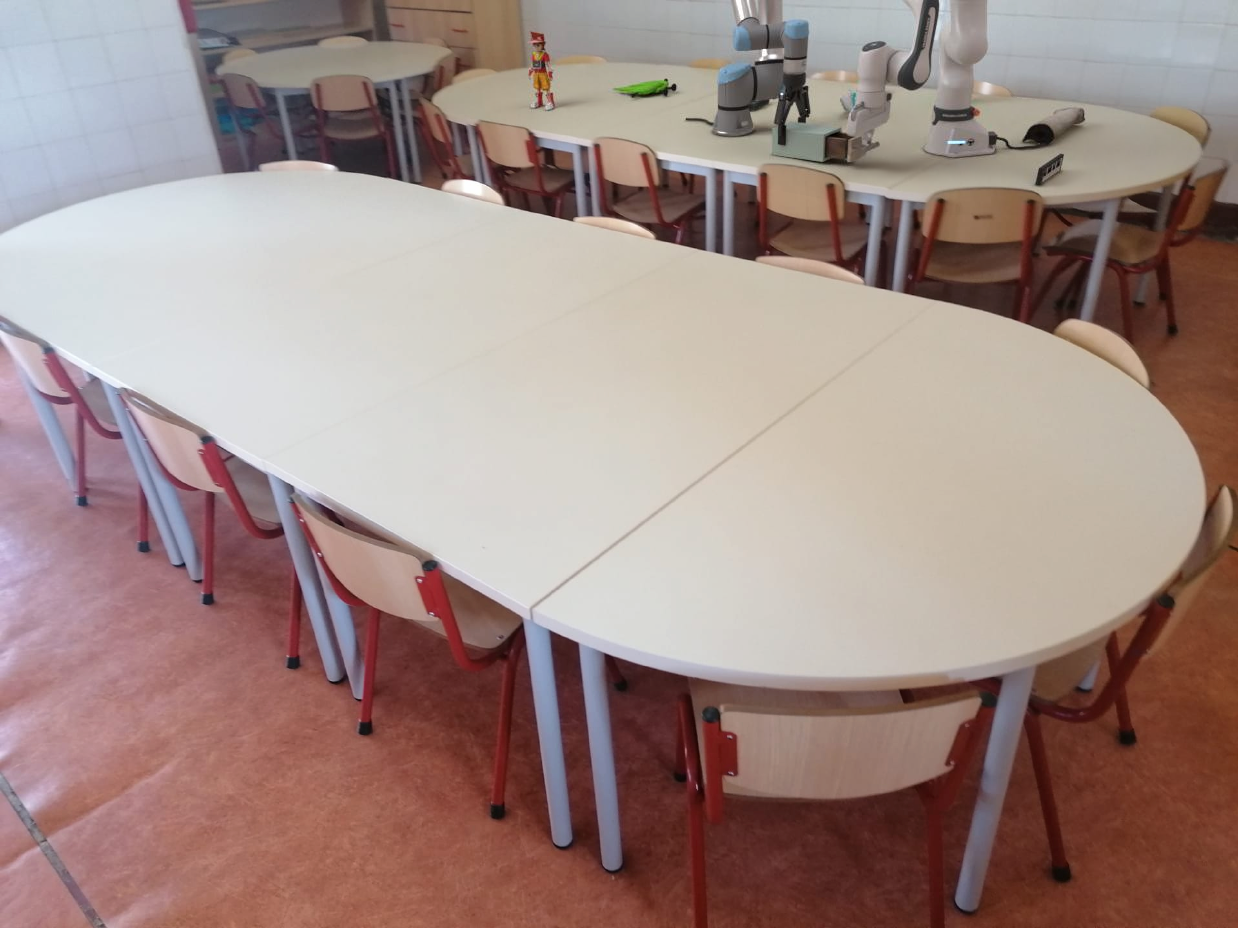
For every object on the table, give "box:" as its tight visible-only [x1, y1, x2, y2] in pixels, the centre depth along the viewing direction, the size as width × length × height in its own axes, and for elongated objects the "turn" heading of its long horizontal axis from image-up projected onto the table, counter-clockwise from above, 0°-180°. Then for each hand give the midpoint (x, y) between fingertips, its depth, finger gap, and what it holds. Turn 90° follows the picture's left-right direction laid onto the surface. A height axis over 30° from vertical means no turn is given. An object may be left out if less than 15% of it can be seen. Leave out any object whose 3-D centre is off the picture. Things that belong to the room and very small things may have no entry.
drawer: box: [825, 131, 881, 163], centre depth 296 cm, size 25×9×7 cm, turn 45°
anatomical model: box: [839, 89, 856, 113], centre depth 343 cm, size 15×10×10 cm
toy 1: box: [527, 31, 556, 111], centre depth 374 cm, size 12×9×30 cm
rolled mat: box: [1021, 106, 1086, 146], centre depth 311 cm, size 30×9×10 cm
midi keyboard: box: [1035, 153, 1065, 186], centre depth 273 cm, size 18×1×5 cm, turn 138°
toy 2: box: [612, 78, 677, 99], centre depth 396 cm, size 28×5×30 cm
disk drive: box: [749, 100, 770, 111], centre depth 365 cm, size 10×3×15 cm
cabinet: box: [771, 120, 843, 163], centre depth 304 cm, size 21×11×9 cm, turn 45°
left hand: (791, 141), depth 308 cm, fingers closed on cabinet, 11 cm apart
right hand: (866, 144), depth 289 cm, fingers closed
